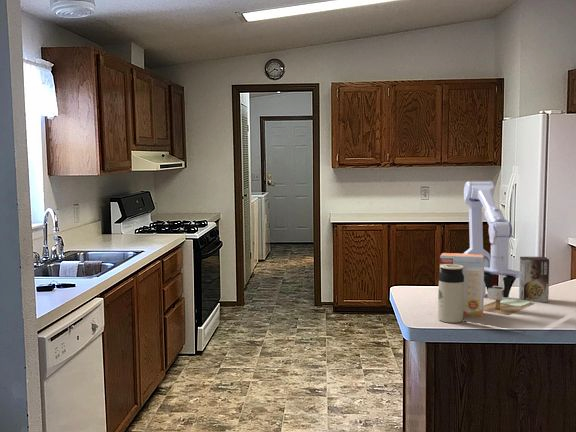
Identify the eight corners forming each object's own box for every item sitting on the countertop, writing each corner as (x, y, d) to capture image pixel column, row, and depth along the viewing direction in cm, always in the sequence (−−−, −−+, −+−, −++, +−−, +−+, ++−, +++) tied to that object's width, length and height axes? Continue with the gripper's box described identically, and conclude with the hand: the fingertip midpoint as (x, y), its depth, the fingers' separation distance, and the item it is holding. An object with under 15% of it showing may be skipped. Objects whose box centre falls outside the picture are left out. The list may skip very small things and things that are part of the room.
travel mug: (462, 317, 205) (463, 264, 203) (463, 324, 197) (465, 268, 196) (437, 316, 207) (438, 263, 205) (438, 322, 199) (439, 267, 197)
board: (474, 312, 213) (475, 296, 212) (502, 300, 229) (503, 286, 229) (508, 318, 205) (509, 301, 204) (535, 306, 221) (535, 291, 220)
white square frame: (487, 298, 212) (487, 288, 211) (494, 295, 215) (494, 285, 215) (502, 300, 208) (502, 290, 208) (508, 297, 212) (508, 287, 212)
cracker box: (483, 315, 208) (485, 254, 206) (482, 319, 203) (483, 256, 201) (441, 311, 213) (442, 251, 211) (438, 316, 208) (439, 254, 206)
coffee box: (543, 298, 233) (544, 256, 231) (548, 302, 226) (550, 259, 225) (518, 298, 233) (519, 256, 232) (522, 302, 227) (524, 258, 226)
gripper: (474, 255, 212) (472, 294, 214) (515, 260, 203) (514, 301, 204) (483, 253, 218) (482, 291, 219) (524, 257, 208) (522, 297, 209)
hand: (498, 295), depth 212 cm, fingers closed on white square frame, 5 cm apart
